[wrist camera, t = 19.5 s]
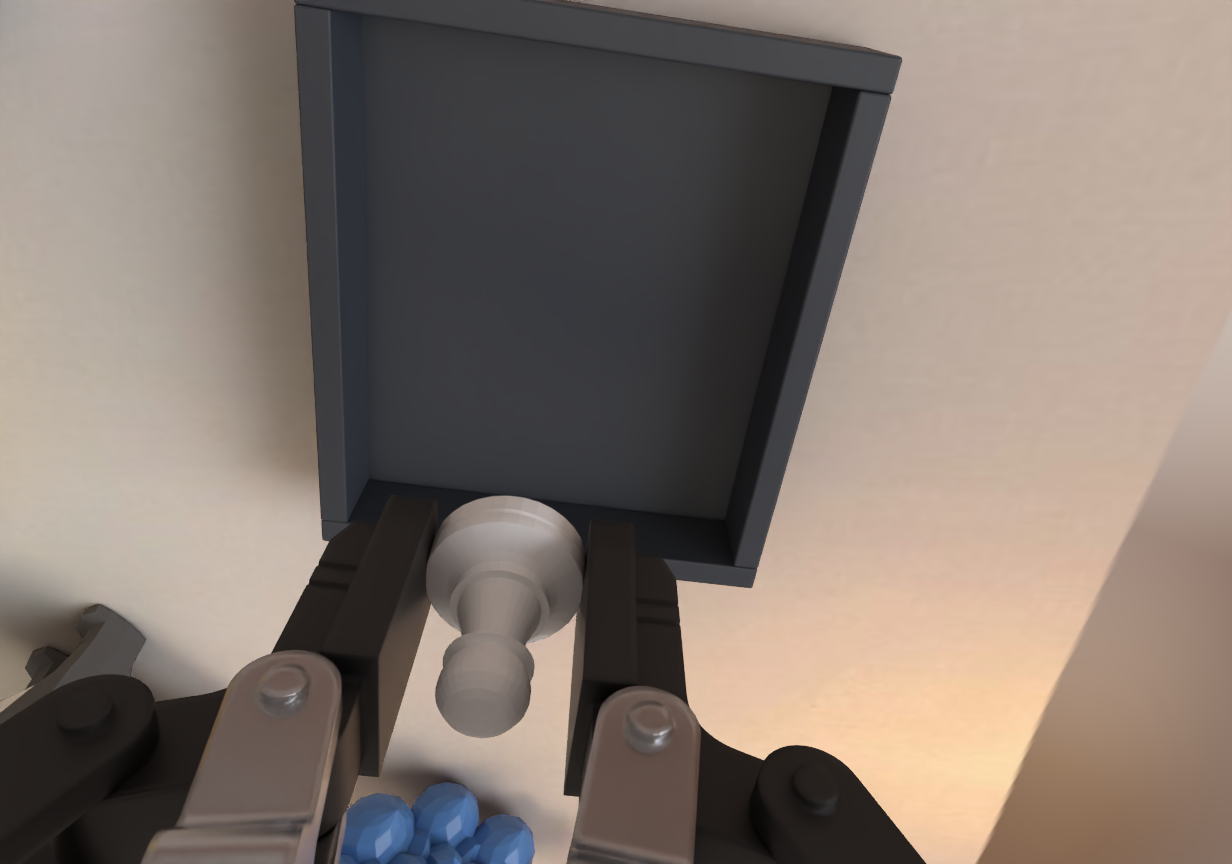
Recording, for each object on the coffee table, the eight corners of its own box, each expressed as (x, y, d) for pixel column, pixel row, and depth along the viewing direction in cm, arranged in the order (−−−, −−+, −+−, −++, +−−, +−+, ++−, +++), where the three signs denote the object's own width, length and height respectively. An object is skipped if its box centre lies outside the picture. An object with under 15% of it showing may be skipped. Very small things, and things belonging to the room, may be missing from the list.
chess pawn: (584, 615, 14) (574, 790, 11) (438, 609, 14) (387, 784, 11) (588, 494, 13) (578, 654, 10) (428, 488, 13) (367, 646, 10)
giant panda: (299, 733, 34) (191, 982, 25) (215, 786, 35) (89, 1036, 27) (-25, 506, 28) (-300, 728, 20) (-105, 582, 30) (-390, 817, 21)
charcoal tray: (335, -36, 20) (290, -38, 17) (867, 47, 21) (904, 57, 18) (351, 486, 27) (321, 541, 25) (740, 531, 28) (752, 589, 26)
